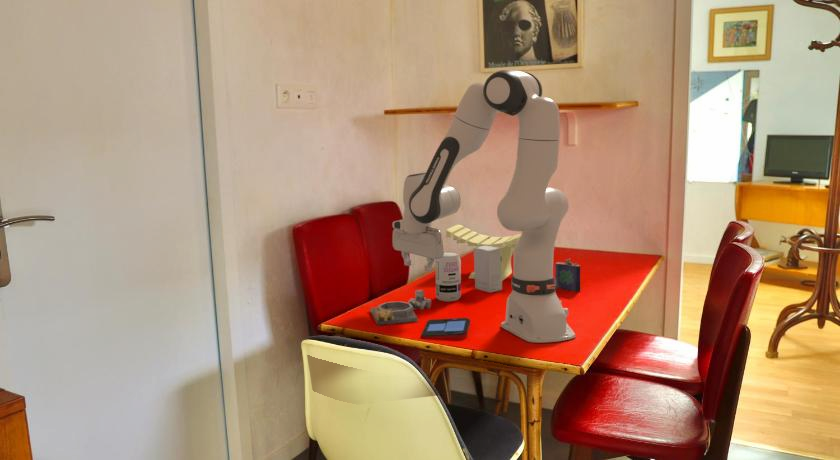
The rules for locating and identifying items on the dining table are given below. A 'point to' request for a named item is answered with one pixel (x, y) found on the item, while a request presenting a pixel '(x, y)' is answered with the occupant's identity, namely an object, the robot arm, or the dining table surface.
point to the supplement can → (448, 277)
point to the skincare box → (487, 268)
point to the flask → (567, 276)
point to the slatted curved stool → (481, 240)
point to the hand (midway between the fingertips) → (417, 268)
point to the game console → (446, 328)
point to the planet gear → (420, 300)
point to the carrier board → (393, 313)
